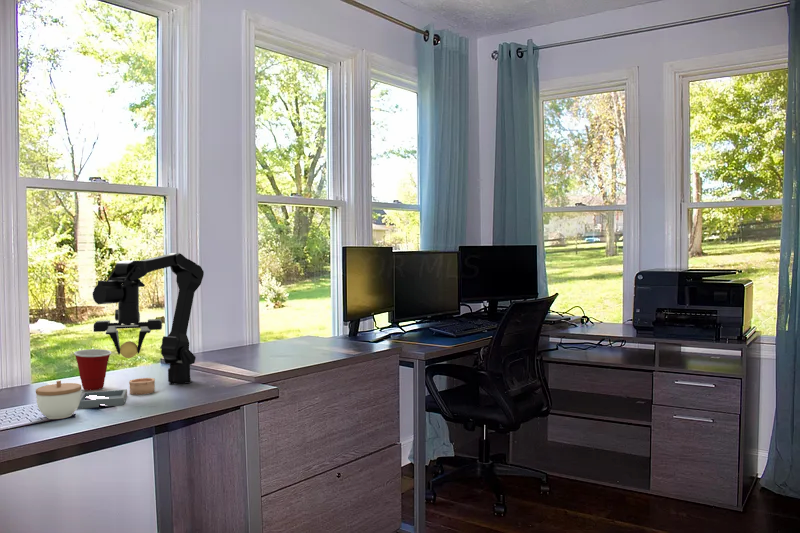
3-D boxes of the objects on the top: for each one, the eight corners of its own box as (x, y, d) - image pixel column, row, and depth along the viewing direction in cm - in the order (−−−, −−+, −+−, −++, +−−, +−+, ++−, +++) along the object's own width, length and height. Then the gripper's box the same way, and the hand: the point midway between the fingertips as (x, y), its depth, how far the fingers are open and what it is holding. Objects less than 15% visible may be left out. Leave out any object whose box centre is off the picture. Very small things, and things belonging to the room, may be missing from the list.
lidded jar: (51, 423, 163) (49, 387, 162) (28, 418, 168) (27, 382, 168) (90, 414, 172) (89, 379, 172) (67, 409, 178) (66, 375, 177)
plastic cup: (94, 393, 197) (93, 354, 197) (66, 391, 200) (65, 353, 200) (120, 386, 207) (119, 349, 207) (93, 384, 210) (92, 347, 210)
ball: (138, 356, 197) (138, 340, 197) (137, 358, 192) (137, 342, 192) (120, 357, 195) (120, 340, 195) (119, 359, 190) (119, 342, 190)
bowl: (155, 388, 203) (155, 377, 202) (154, 393, 196) (154, 381, 196) (130, 390, 200) (130, 379, 200) (128, 395, 193) (128, 383, 193)
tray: (127, 395, 193) (127, 389, 193) (123, 405, 182) (123, 398, 181) (83, 399, 189) (83, 392, 189) (76, 408, 178) (76, 401, 178)
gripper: (162, 300, 204) (162, 349, 204) (98, 301, 198) (98, 351, 198) (161, 302, 193) (161, 353, 193) (93, 303, 187) (93, 357, 188)
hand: (128, 354), depth 193 cm, fingers closed on ball, 5 cm apart
